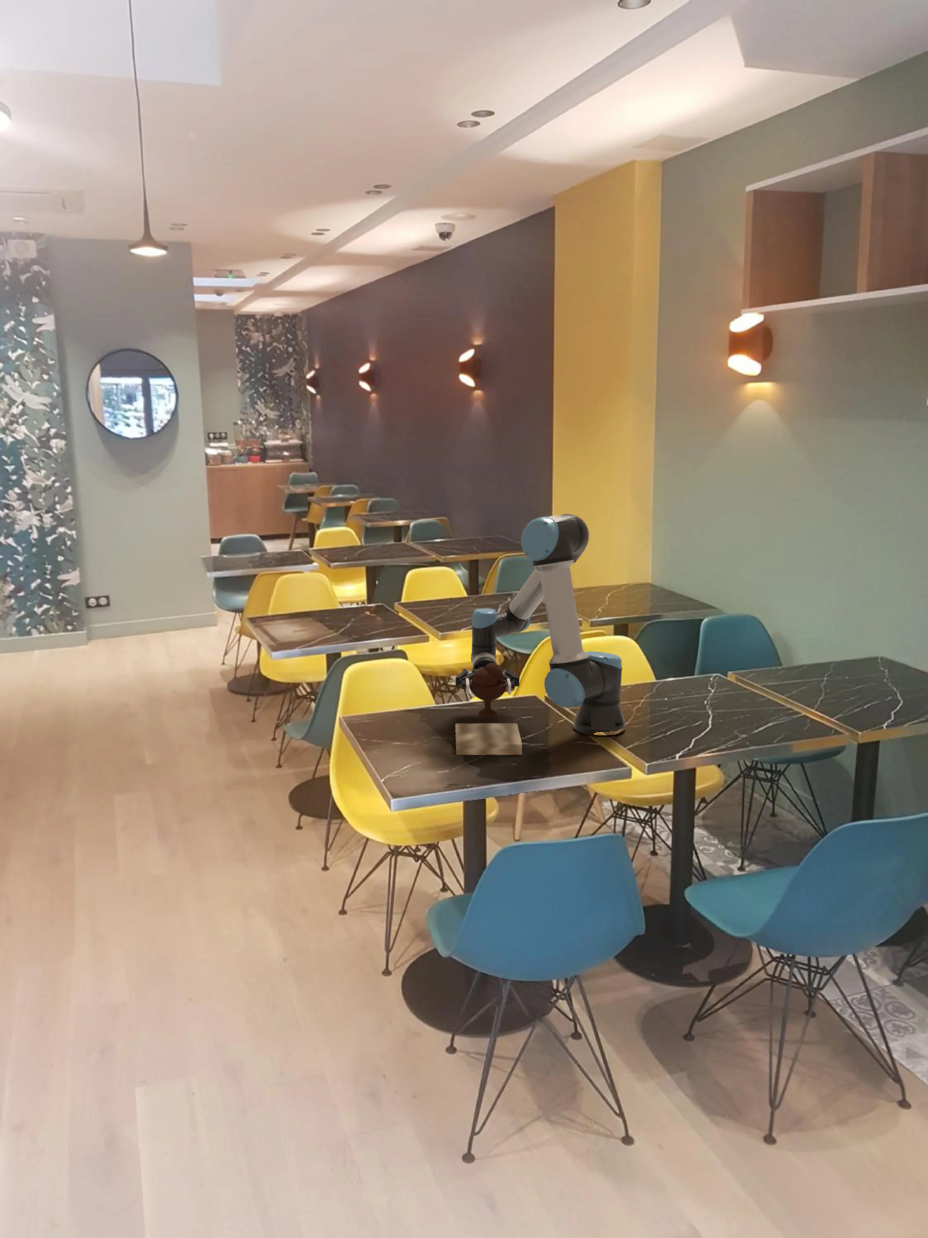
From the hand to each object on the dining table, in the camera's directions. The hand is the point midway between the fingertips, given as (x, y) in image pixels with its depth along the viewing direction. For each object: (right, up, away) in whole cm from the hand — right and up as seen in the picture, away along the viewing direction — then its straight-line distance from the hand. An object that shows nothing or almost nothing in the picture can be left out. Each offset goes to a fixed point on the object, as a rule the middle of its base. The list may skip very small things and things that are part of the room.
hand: (488, 689), depth 272 cm
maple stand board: (0, -16, +8) cm, 18 cm away
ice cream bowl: (0, -8, +6) cm, 10 cm away
